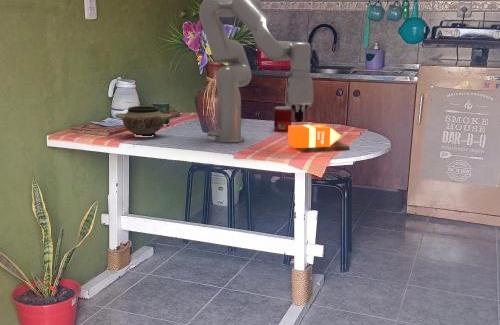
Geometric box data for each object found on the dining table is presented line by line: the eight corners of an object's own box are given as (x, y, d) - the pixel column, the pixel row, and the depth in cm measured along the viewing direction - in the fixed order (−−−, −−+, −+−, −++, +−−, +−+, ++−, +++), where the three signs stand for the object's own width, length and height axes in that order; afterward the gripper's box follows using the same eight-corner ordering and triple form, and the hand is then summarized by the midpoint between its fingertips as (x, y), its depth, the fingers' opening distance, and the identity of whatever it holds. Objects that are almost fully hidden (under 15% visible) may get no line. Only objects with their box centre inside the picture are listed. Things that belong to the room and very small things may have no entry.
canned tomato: (173, 125, 289) (172, 103, 287) (159, 127, 284) (158, 104, 281) (163, 123, 295) (163, 101, 292) (150, 125, 289) (149, 102, 287)
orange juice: (288, 144, 240) (335, 142, 244) (294, 148, 231) (343, 146, 235) (288, 124, 238) (335, 123, 242) (294, 128, 230) (343, 126, 234)
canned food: (294, 131, 278) (295, 107, 275) (280, 132, 273) (281, 108, 271) (284, 128, 284) (284, 105, 281) (270, 130, 280) (271, 106, 277)
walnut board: (302, 152, 231) (302, 148, 231) (288, 144, 246) (288, 140, 246) (349, 149, 237) (349, 146, 236) (333, 142, 252) (333, 138, 251)
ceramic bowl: (174, 140, 267) (175, 106, 268) (169, 137, 250) (169, 101, 250) (119, 139, 267) (120, 106, 268) (110, 136, 250) (111, 101, 250)
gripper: (284, 75, 225) (283, 123, 229) (321, 75, 229) (320, 122, 233) (278, 74, 232) (277, 120, 236) (314, 73, 236) (312, 119, 240)
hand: (298, 121), depth 235 cm, fingers closed
